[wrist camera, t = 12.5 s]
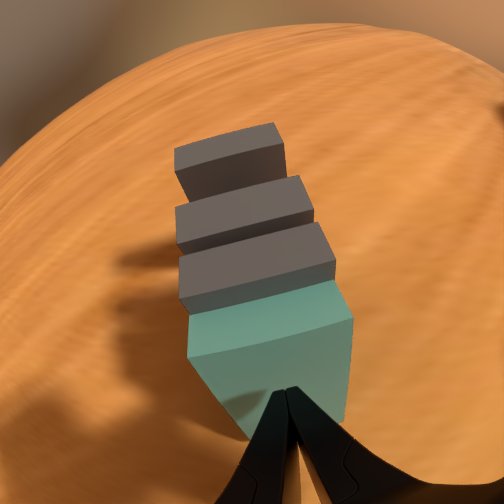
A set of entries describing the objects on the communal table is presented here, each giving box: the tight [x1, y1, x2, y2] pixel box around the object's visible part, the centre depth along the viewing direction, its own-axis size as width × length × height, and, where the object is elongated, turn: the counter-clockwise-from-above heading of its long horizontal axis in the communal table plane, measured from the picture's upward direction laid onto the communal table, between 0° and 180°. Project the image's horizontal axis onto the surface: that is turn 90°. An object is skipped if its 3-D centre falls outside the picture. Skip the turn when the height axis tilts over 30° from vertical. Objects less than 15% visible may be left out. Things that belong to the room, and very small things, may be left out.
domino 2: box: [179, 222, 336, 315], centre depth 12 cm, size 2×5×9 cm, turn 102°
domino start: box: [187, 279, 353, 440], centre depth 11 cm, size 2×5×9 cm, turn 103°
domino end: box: [174, 122, 287, 202], centre depth 16 cm, size 2×5×9 cm, turn 101°
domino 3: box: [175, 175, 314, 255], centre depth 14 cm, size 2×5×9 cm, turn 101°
